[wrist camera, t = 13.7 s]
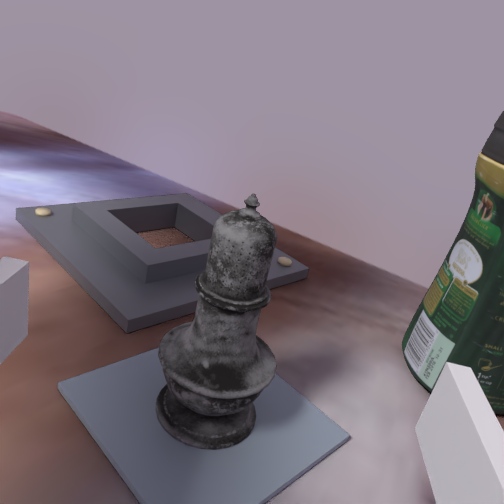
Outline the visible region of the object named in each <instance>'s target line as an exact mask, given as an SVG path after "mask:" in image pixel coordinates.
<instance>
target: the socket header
mask: <svg viewBox="0 0 504 504" xmlns="http://www.w3.org/2000/svg"><path fill="white" fill-rule="evenodd" d="M220 216H222V214H220V213H219V212H217V211H215V210H214V209H212V208H210V207H209V206H207V205H205V204H204V203H202V202H201V201H199V200H197V199H196V198H194V197H192V196H191V195H189V194H187V193H184V194H173V195H161V196H150V197H138V198H127V199H116V200H104V201H93V202H81V203H71V204H59V205H48V206H37V207H25V208H16V220H17V221H18V222H19V223H20V224H21V225H22V226H23V227H24V228H25V229H26V230H27V231H28V232H29V233H30V234H31V235H32V236H33V237H34V238H35V239H36V240H37V241H38V242H39V244H40V245H41V246H42V247H43V248H44V249H45V250H46V251H47V252H48V253H49V254H50V255H51V256H52V257H53V258H54V259H55V260H56V261H57V262H58V263H59V264H60V265H61V266H62V267H63V268H64V269H65V270H66V271H67V272H68V273H69V274H70V275H71V277H72V278H73V279H74V280H75V281H76V282H77V283H78V284H79V285H80V286H81V287H82V288H83V289H84V290H85V291H86V292H87V293H88V294H89V295H90V296H91V297H92V298H93V299H94V300H95V301H96V302H97V303H98V304H99V305H100V306H101V307H102V308H103V310H104V311H105V312H106V313H107V314H108V315H109V316H110V317H111V318H112V319H113V320H114V321H115V322H116V323H117V324H118V325H119V326H120V327H121V328H122V329H123V330H124V331H125V332H126V333H130V332H133V331H136V330H139V329H143V328H146V327H149V326H152V325H156V324H159V323H162V322H165V321H169V320H172V319H175V318H178V317H182V316H185V315H188V314H191V313H195V312H196V308H197V302H198V297H199V293H198V292H197V290H196V288H195V279H196V277H197V275H199V274H200V273H202V272H204V271H205V269H206V264H207V258H208V253H209V248H210V243H211V237H212V232H213V227H214V225H215V223H216V221H217V219H218V218H219V217H220ZM170 227H175V228H177V229H178V230H180V231H181V232H183V233H184V234H185V235H187V236H188V237H190V238H191V239H193V240H194V241H195V242H190V243H184V244H179V245H173V246H167V247H162V248H155V247H153V246H152V245H151V244H149V243H148V242H147V241H146V240H144V239H143V238H142V237H140V236H139V235H138V234H137V233H135V232H142V231H149V230H156V229H163V228H170ZM308 271H309V268H308V267H307V266H305V265H303V264H302V263H300V262H299V261H297V260H295V259H294V258H292V257H290V256H289V255H287V254H285V253H284V252H282V251H281V250H279V249H277V248H276V247H275V249H274V253H273V257H272V261H271V265H270V269H269V273H268V277H267V281H266V286H267V287H268V288H269V289H272V288H276V287H279V286H282V285H285V284H289V283H292V282H295V281H298V280H302V279H305V278H307V275H308Z"/></svg>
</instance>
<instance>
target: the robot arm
mask: <svg viewBox="0 0 504 504" xmlns="http://www.w3.org/2000/svg"><path fill="white" fill-rule="evenodd" d="M28 295H29V262H27V261H23V260H19V259H15V258H10V257H6V256H4V257H3V258H2V259H0V364H1V363H2V362H3V361H4V360H5V359H6V358H7V357H8V356H9V355H10V353H11V352H12V351H13V350H14V349H15V348H16V347H17V346H18V345H19V344H20V343H21V342H22V341H23V340H24V339H25V338H26V337H27V335H28ZM415 431H416V434H417V438H418V441H419V445H420V448H421V452H422V455H423V459H424V462H425V465H426V469H427V472H428V476H429V479H430V483H431V486H432V490H433V493H434V497H435V500H436V504H504V431H503V429H502V427H501V426H500V424H499V422H498V420H497V418H496V416H495V414H494V412H493V410H492V408H491V406H490V404H489V402H488V400H487V398H486V396H485V394H484V392H483V390H482V388H481V387H480V385H479V383H478V381H477V379H476V377H475V375H474V373H473V371H472V369H471V368H470V367H466V366H462V365H457V364H453V363H449V362H446V364H445V366H444V368H443V370H442V372H441V374H440V376H439V378H438V381H437V383H436V385H435V387H434V389H433V391H432V393H431V395H430V397H429V399H428V402H427V404H426V406H425V408H424V410H423V412H422V414H421V416H420V418H419V420H418V423H417V425H416V427H415Z"/></svg>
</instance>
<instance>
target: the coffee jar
mask: <svg viewBox="0 0 504 504" xmlns="http://www.w3.org/2000/svg"><path fill="white" fill-rule="evenodd" d="M402 349H403V354H404V357H405V360H406V363H407V365H408V367H409V369H410V371H411V373H412V374H413V376H414V377H415V378H416V379H417V380H418V381H419V382H420V383H421V384H422V385H423V386H424V387H425V388H426V389H428V390H429V391H430V392H431V393H432V391H433V389H434V387H435V385H436V383H437V381H438V378H439V376H440V374H441V372H442V370H443V368H444V366H445V364H446V362H449V363H453V364H457V365H462V366H466V367H470V368H471V369H472V371H473V373H474V375H475V377H476V379H477V381H478V383H479V385H480V387H481V388H482V390H483V392H484V394H485V396H486V398H487V400H488V402H489V404H490V406H491V408H492V410H493V412H494V414H503V415H504V111H503V112H502V114H501V115H500V117H499V118H498V120H497V122H496V123H495V125H494V130H493V131H492V133H491V134H490V136H489V138H488V139H487V141H486V143H485V145H484V147H483V149H482V152H481V153H480V154H479V156H478V159H477V163H476V168H475V191H474V196H473V199H472V202H471V205H470V207H469V210H468V213H467V215H466V218H465V220H464V222H463V224H462V227H461V229H460V231H459V233H458V235H457V237H456V239H455V241H454V243H453V245H452V247H451V249H450V251H449V252H448V254H447V256H446V258H445V260H444V262H443V264H442V266H441V268H440V270H439V272H438V274H437V275H436V277H435V279H434V281H433V282H432V284H431V286H430V288H429V289H428V291H427V293H426V295H425V296H424V298H423V300H422V302H421V304H420V305H419V307H418V309H417V311H416V313H415V315H414V317H413V319H412V321H411V323H410V325H409V327H408V329H407V331H406V333H405V336H404V338H403V341H402Z"/></svg>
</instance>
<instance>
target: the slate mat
mask: <svg viewBox="0 0 504 504" xmlns="http://www.w3.org/2000/svg"><path fill="white" fill-rule="evenodd" d="M158 351H159V347H158V348H156V349H153V350H150V351H147V352H144V353H141V354H138V355H136V356H133V357H130V358H127V359H124V360H121V361H118V362H115V363H113V364H110V365H107V366H104V367H101V368H98V369H95V370H93V371H90V372H87V373H84V374H81V375H78V376H75V377H73V378H70V379H67V380H64V381H61V382H58V390H59V391H60V393H61V394H62V395H63V397H64V398H65V400H66V401H67V402H68V404H69V405H70V407H71V408H72V409H73V411H74V412H75V414H76V415H77V416H78V418H79V419H80V420H81V422H82V423H83V425H84V426H85V427H86V429H87V430H88V432H89V433H90V434H91V436H92V437H93V439H94V440H95V441H96V443H97V444H98V445H99V447H100V448H101V450H102V451H103V452H104V454H105V455H106V457H107V458H108V459H109V461H110V462H111V464H112V465H113V466H114V468H115V469H116V470H117V472H118V473H119V475H120V476H121V477H122V479H123V480H124V482H125V483H126V484H127V486H128V487H129V489H130V490H131V491H132V493H133V494H134V495H135V497H136V498H137V500H138V501H139V502H140V504H264V503H266V502H267V501H268V500H270V499H271V498H272V497H274V496H275V495H276V494H278V493H279V492H280V491H282V490H283V489H284V488H285V487H287V486H288V485H289V484H291V483H292V482H293V481H295V480H296V479H297V478H299V477H300V476H301V475H303V474H304V473H305V472H307V471H308V470H309V469H311V468H312V467H313V466H315V465H316V464H317V463H319V462H320V461H321V460H323V459H324V458H325V457H327V456H328V455H329V454H330V453H332V452H333V451H334V450H336V449H337V448H338V447H340V446H341V445H342V444H344V443H345V442H346V441H348V439H349V436H350V435H349V434H348V433H347V432H346V431H345V430H343V429H342V428H341V427H340V426H339V425H337V424H336V423H335V422H334V421H333V420H331V419H330V418H329V417H328V416H327V415H325V414H324V413H323V412H322V411H321V410H319V409H318V408H317V407H316V406H315V405H313V404H312V403H311V402H310V401H309V400H307V399H306V398H305V397H304V396H303V395H301V394H300V393H299V392H298V391H297V390H295V389H294V388H293V387H292V386H290V385H289V384H288V383H287V382H286V381H284V380H283V379H282V378H281V377H280V376H278V375H277V374H276V373H275V376H274V378H273V380H272V381H271V383H270V384H269V385H268V386H267V387H266V388H264V389H263V391H262V392H261V394H260V395H259V396H258V398H257V399H256V400H255V401H254V402H253V404H254V406H255V411H256V420H255V425H254V428H253V429H252V431H251V433H250V434H249V436H248V437H246V438H245V439H244V440H243V441H241V442H240V443H238V444H236V445H233V446H231V447H229V448H222V449H216V450H212V449H200V448H196V447H192V446H189V445H186V444H184V443H182V442H180V441H178V440H176V439H175V438H173V437H172V436H171V435H170V434H169V433H168V432H166V431H165V430H164V428H163V427H162V425H161V424H160V422H159V421H158V418H157V414H156V410H155V409H156V400H157V397H158V395H159V393H160V391H161V389H162V388H163V387H164V386H165V385H166V384H167V382H166V379H165V376H164V373H163V367H162V366H161V363H160V360H159V357H158Z"/></svg>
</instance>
